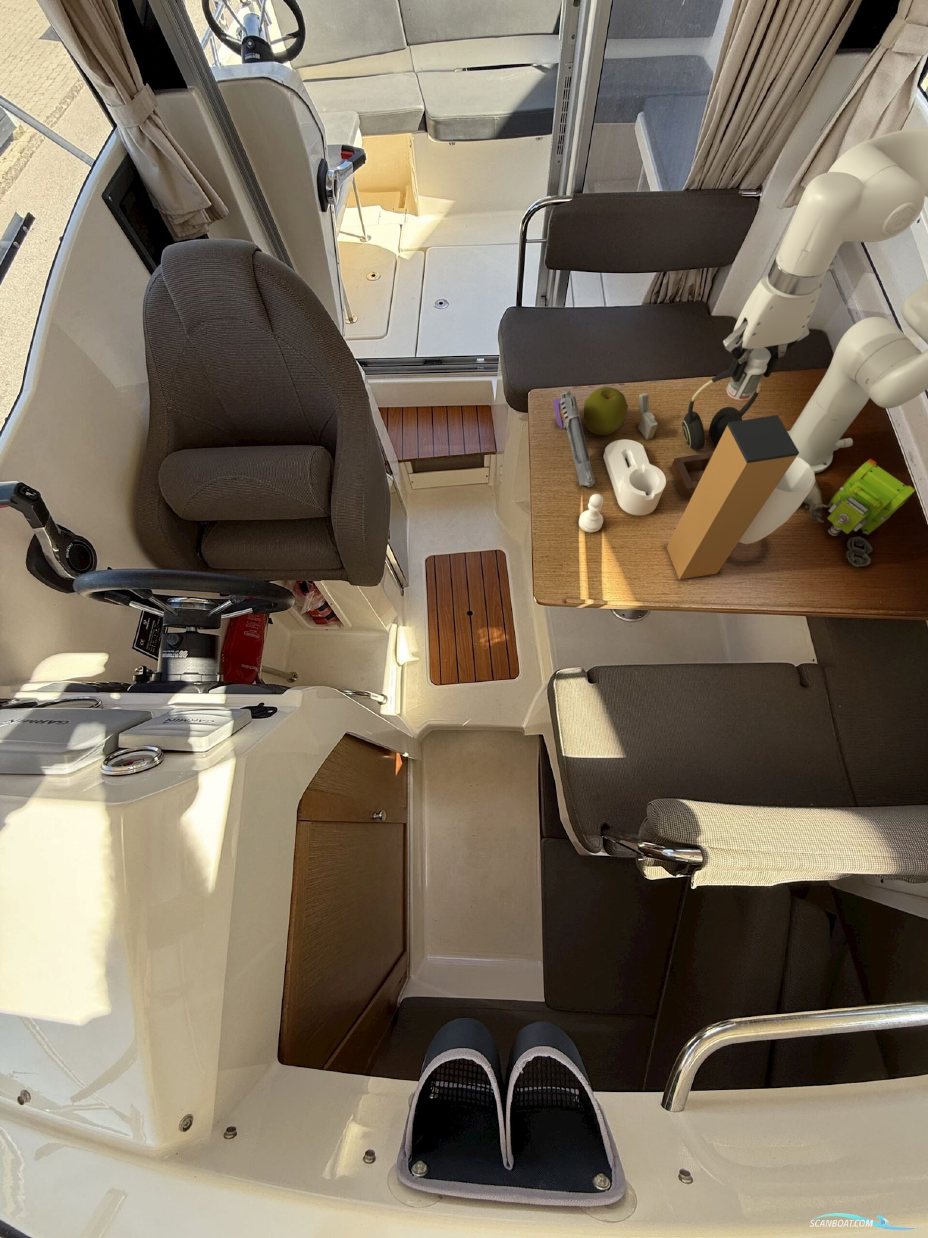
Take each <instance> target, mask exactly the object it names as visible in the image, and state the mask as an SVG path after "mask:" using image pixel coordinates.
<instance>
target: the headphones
mask: <svg viewBox="0 0 928 1238" xmlns="http://www.w3.org/2000/svg"><path fill="white" fill-rule="evenodd" d="M727 378H732V376H731V375H730V374H729V369H727V370H724V371H723V372H720V373H718V374H717V375H714V377H712V378H711V379H710V380H709V381H707V382H706V383H705V384H703V385H702V386H701V387H700V388H698V390H697V391H696V392H695V393H694V394H693V396H692V397H691V399H690V401H689V404H688V407H687V408H688V409H687V413H686V414H685V415H684V417H683V420H682V421H681V431H682V435H683V438H684V441H685V443H686V445H687V447H688V448H690V449H691V450H693V451H699V450H702V449H703V448H704V447H705V445H706V432H705V428H704V424H703V421H702V418H701V417H700V414H699V413H698V412H697V411H695V410H694V405H695V402H696V401H695V400H696V398H697V397H698V395H699V394H700V393H701V392H703V390H704V389H705V388H707V387H709V386H710V385H711V384H713V383H716V382H718V381H721V380H725V379H727ZM761 385H762V384H761V381H760V382H759V384H758V386H757V388H756V389H755V391H754V393H753V395H752V396H751V397H750V398H749V399H748V401H747V402H746V403H745V404H744V405H743V406H742V408H740V409H737V408H736V407H733V406H725V407H723V408H721V409H719V410H718V411H717V412H716V413H715V414H714V416H713V417H712V419H711V421H710V424H709V428H708V436H709V440H710V442H711V443H712V444H713V445H714V446H716V447H717V445H718V443H719V441H720V439H721V437H722V435H723V433H724V431H725V429H726V427H727V425H728V423H729V422H735V421H741V420H743V416H744V415H745V414H746V412H747V411H748V410H749V409H750V408H751V406H752V405H753V403H755V401H756V399H757V397H758V396H759V394H760V391H761V387H762V386H761Z"/></svg>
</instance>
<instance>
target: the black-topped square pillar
mask: <svg viewBox="0 0 928 1238" xmlns="http://www.w3.org/2000/svg"><path fill="white" fill-rule="evenodd" d="M787 431H788V430H787V429H786V427H785V426H784V424H783V422H782V420H781V418H780V417H779V415H778V414H775V415H768V416H763V417H756V418H749V419H742V420H741V421H735V422H729V423H728V425H727V427H726V429H725V431H724V433H723V435H722V437H721V439H720V441H719V443H718V445H717V446H716V447H715V449H714V451H713V455H712V457H711V459H710V461H709V463H708V465H707V467H706V469H705V471H704V470H703V473H702V476H701V478H700V479H699V480H698V481H699V483H698V485H697V487H696V489H695V491H694V493H693V495H692V497H691V498H689V499H690V500H689V502H688V503H687V506H686V507H685V510H684V511H683V514H682V515H681V518H680V520H679V521H678V524H677V526H676V528H675V530H674V532H673V534H672V536H671V538H670V540H669V541H668V544H667V546H666V550H667V552H668V555H669V557H670V559H671V563H672V565H673V567H674V570H675V572H676V575H677V578H678V579H679V580H684V579H685V580H686V579H690V578H697V577H705V576H710V575H715V574H718V572H719V571H720V570H721V568H722V567H723V566H724V564H725V563H726V561H727V560H728V558H729V557H730V555H731V554H732V553H733V551H734V549H735V548H736V546H737V545H738V544H739V543H740V542H739V540H740V539H741V537H742V536H743V535H744V533H745V532H746V530H747V529H748V527H749V526H750V524H751V523H752V521H753V520H754V518H755V517H756V515H757V514H758V513H759V511H760V510H761V508H762V507H763V505H764V504H765V502H766V501H767V499H768V498H769V496H770V495H771V494H772V492H773V491H774V489H775V488H776V486H777V485H778V483H779V482H780V480H781V479H782V477H783V476H784V474H785V473H786V472H787V470H788V469H789V467H790V466H791V464H792V463H793V461H794V460H795V458H796V457H797V455H798V454H799V451H798V449H797V448H796V446H795V444H794V442H793V441H792V439H791V437H790V436H789V434H788V432H787Z"/></svg>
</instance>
